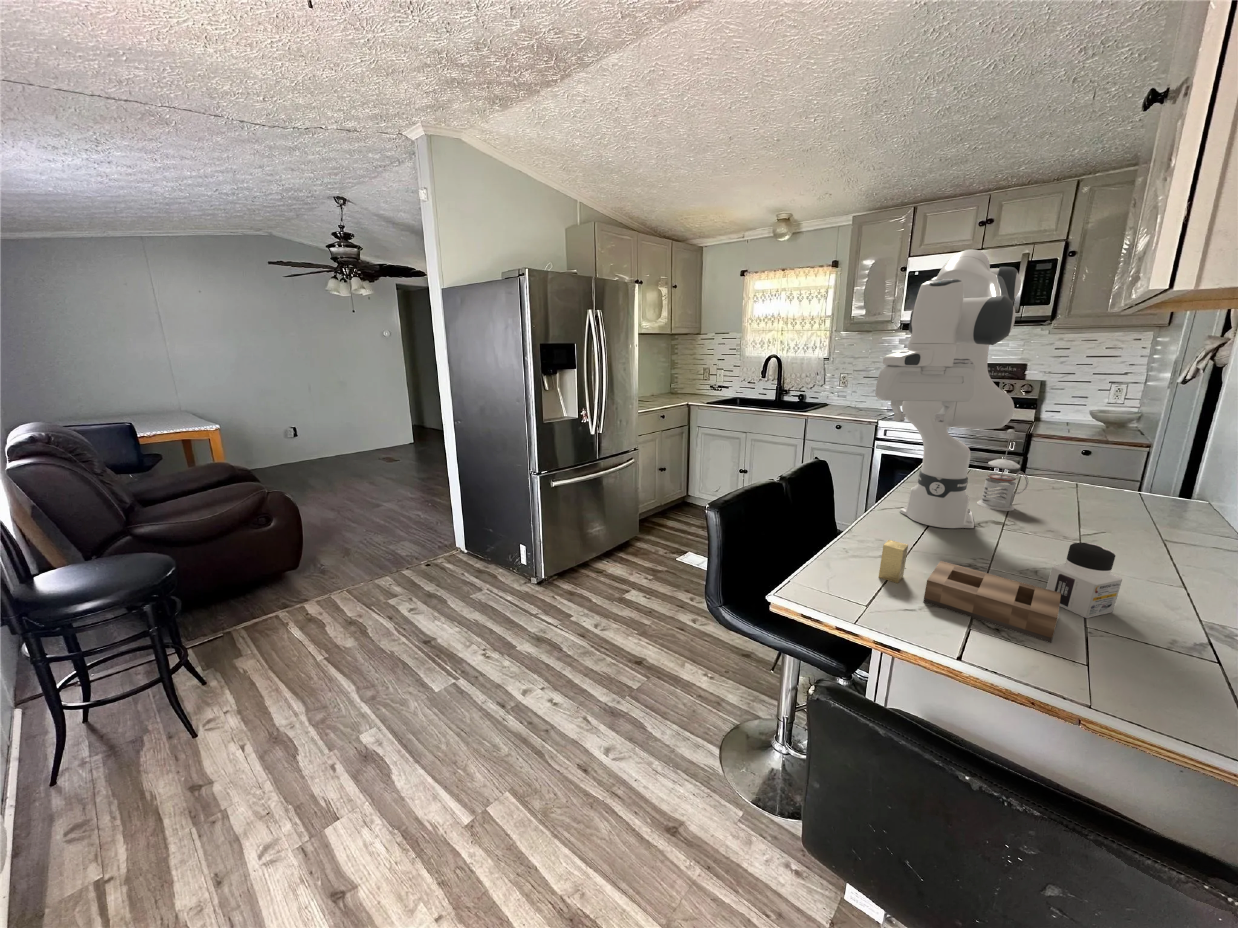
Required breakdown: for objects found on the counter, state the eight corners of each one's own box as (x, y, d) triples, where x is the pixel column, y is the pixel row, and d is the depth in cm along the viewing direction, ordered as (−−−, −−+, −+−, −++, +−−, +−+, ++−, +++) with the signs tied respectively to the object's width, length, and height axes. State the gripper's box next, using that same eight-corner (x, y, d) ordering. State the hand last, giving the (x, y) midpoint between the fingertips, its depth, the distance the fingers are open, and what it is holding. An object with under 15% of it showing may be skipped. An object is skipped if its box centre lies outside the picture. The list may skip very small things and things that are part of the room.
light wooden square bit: (883, 571, 113) (888, 539, 111) (903, 577, 110) (908, 544, 108) (878, 577, 110) (883, 544, 108) (897, 583, 107) (903, 550, 105)
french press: (981, 498, 163) (996, 425, 157) (1025, 507, 154) (1043, 430, 148) (972, 504, 157) (987, 429, 151) (1017, 514, 148) (1035, 434, 142)
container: (1086, 619, 94) (1103, 557, 90) (1042, 598, 101) (1057, 541, 98) (1113, 612, 96) (1131, 552, 92) (1068, 593, 103) (1083, 536, 100)
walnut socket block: (936, 581, 108) (940, 560, 107) (1055, 615, 95) (1061, 592, 93) (923, 601, 100) (927, 579, 98) (1051, 642, 86) (1057, 618, 85)
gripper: (965, 358, 108) (954, 420, 111) (876, 356, 107) (867, 418, 110) (987, 359, 102) (975, 424, 105) (893, 357, 101) (883, 423, 104)
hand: (919, 421), depth 108 cm, fingers open, 8 cm apart
